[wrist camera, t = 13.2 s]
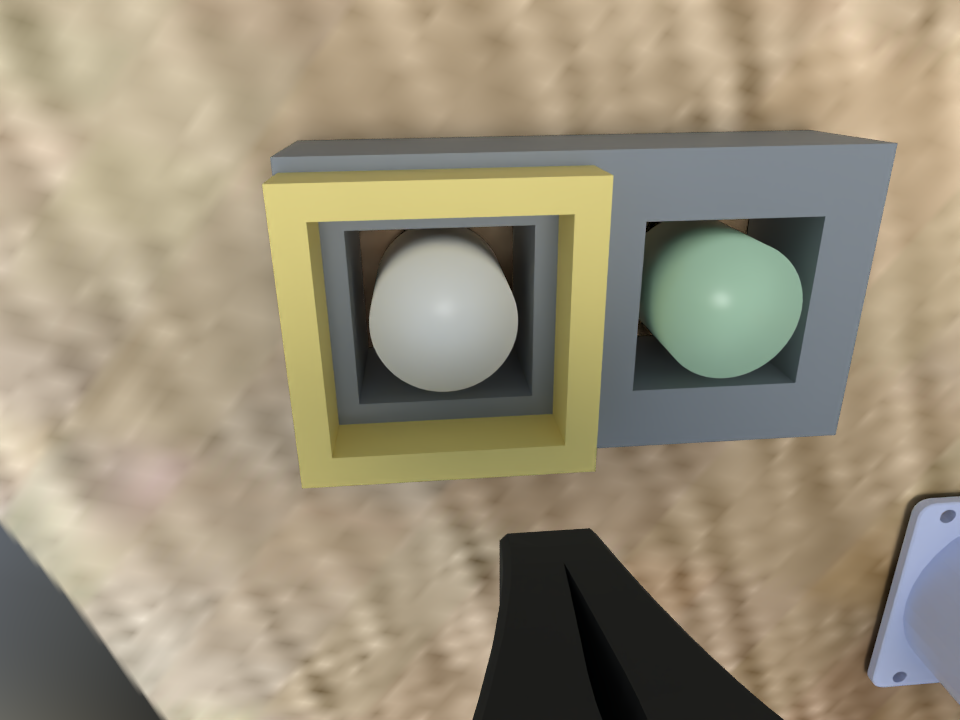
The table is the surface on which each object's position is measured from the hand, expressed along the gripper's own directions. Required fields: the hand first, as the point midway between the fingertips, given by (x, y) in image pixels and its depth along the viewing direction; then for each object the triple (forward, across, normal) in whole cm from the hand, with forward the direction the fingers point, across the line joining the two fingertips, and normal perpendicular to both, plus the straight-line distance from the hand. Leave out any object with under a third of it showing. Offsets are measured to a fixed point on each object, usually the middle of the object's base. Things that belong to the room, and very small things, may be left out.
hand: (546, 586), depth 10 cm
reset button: (+9, +1, -2) cm, 9 cm away
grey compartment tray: (+10, -2, -2) cm, 10 cm away
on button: (+9, -5, -2) cm, 11 cm away
